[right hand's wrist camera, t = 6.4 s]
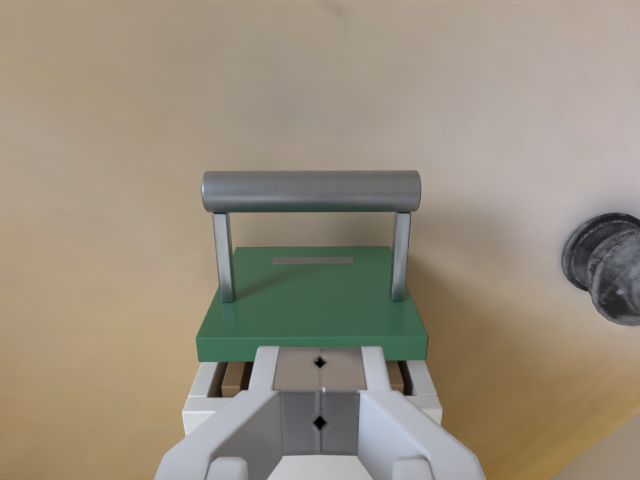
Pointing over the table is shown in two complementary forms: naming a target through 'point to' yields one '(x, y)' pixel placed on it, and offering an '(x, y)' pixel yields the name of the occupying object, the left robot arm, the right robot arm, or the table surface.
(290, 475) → the cabinet
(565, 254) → the dark grey chess piece
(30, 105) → the table surface
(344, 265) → the drawer
